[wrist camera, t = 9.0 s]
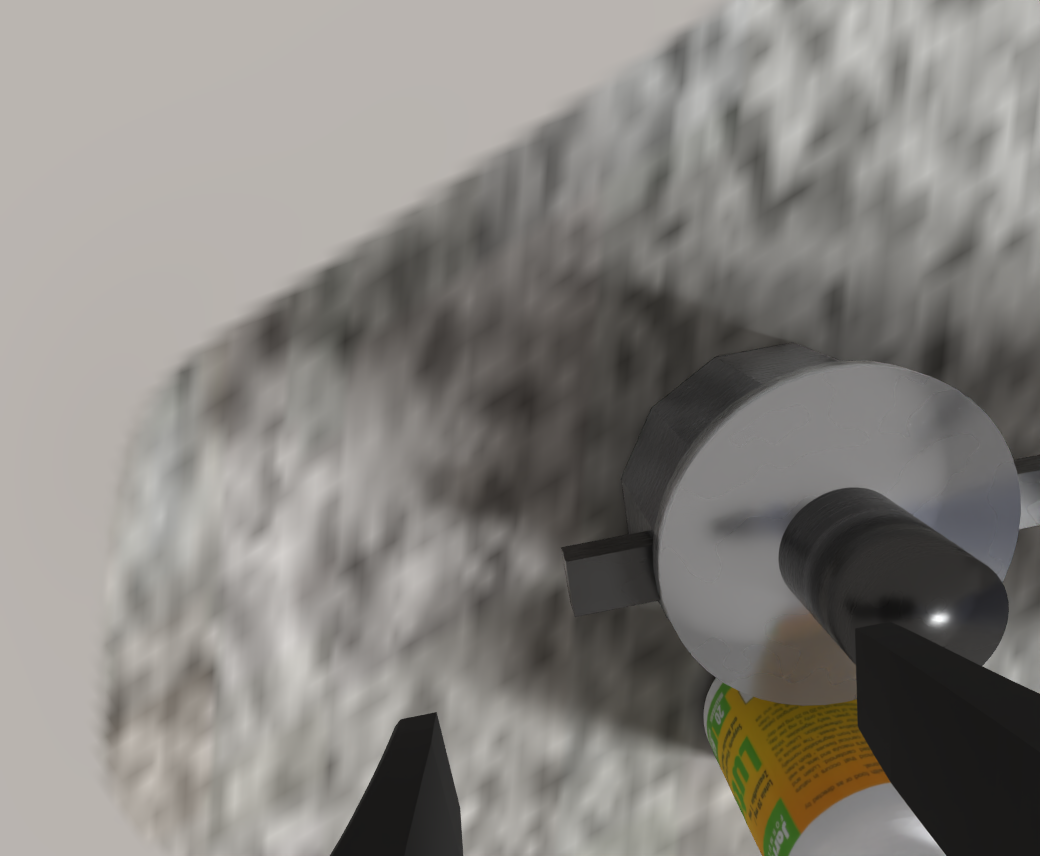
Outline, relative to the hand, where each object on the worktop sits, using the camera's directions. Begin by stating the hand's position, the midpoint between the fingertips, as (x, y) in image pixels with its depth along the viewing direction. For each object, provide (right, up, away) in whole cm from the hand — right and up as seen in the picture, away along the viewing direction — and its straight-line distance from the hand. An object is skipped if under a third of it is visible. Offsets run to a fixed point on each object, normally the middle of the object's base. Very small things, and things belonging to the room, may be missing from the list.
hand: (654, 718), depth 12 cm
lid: (+5, +2, +6) cm, 8 cm away
